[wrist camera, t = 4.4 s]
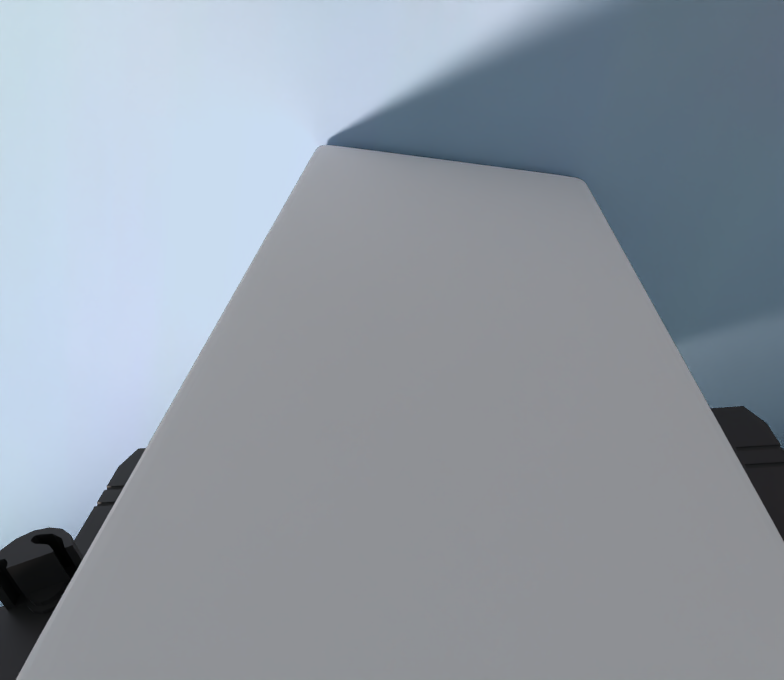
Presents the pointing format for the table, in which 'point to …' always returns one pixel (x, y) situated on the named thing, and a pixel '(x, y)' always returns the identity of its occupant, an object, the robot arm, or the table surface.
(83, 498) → the table surface
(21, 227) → the table surface
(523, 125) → the table surface
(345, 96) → the table surface
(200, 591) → the milk carton
